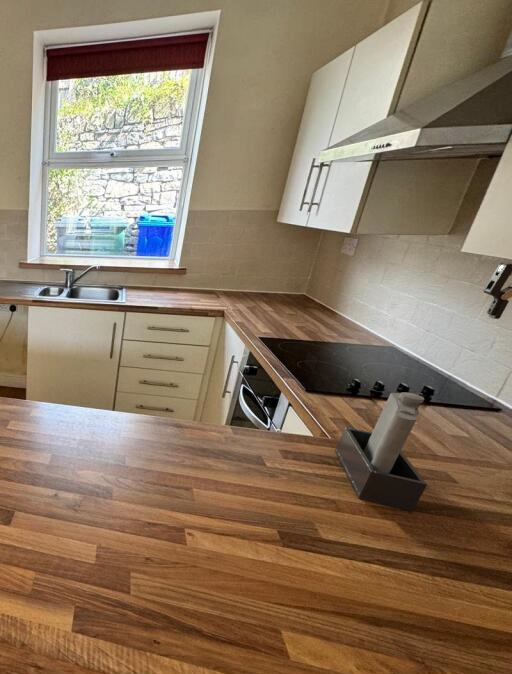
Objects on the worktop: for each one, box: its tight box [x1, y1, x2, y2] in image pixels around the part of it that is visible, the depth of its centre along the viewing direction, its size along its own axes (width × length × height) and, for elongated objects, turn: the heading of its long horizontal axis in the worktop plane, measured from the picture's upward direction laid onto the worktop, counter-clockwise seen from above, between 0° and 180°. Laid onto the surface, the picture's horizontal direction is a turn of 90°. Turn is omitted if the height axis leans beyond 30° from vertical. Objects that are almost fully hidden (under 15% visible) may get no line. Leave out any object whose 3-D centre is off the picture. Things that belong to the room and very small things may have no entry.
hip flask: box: [364, 391, 425, 474], centre depth 86 cm, size 16×4×20 cm, turn 141°
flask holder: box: [334, 426, 428, 513], centre depth 89 cm, size 9×21×7 cm, turn 153°
